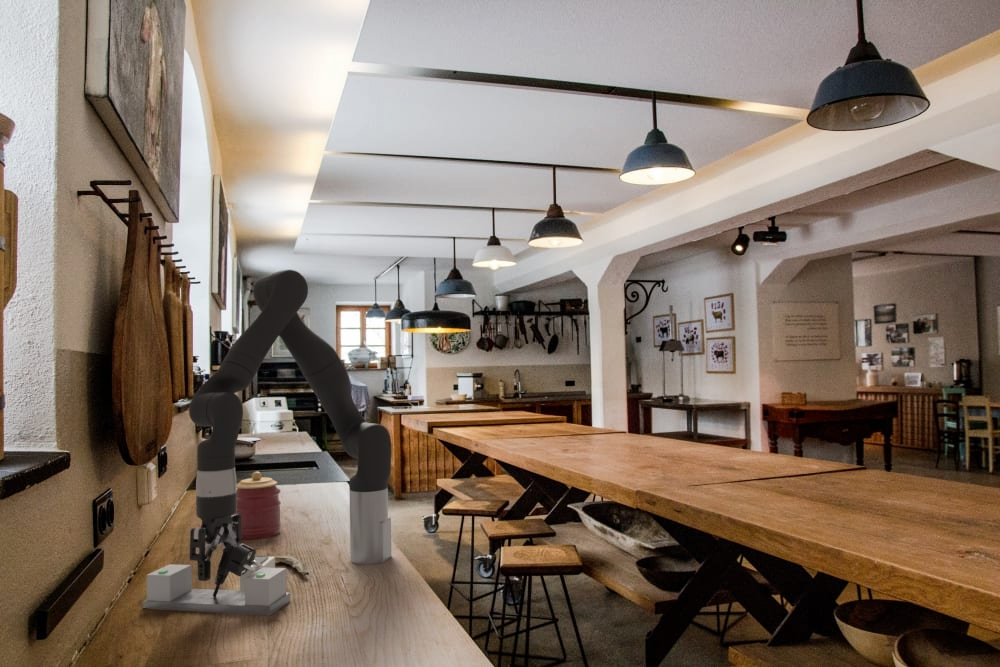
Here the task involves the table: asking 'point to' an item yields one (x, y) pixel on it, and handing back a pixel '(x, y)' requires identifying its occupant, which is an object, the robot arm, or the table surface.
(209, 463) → the robot arm
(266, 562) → the block
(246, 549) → the power plug
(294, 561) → the jawbone
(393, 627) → the table surface
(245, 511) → the canister
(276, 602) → the rail base
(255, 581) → the mounted modules
